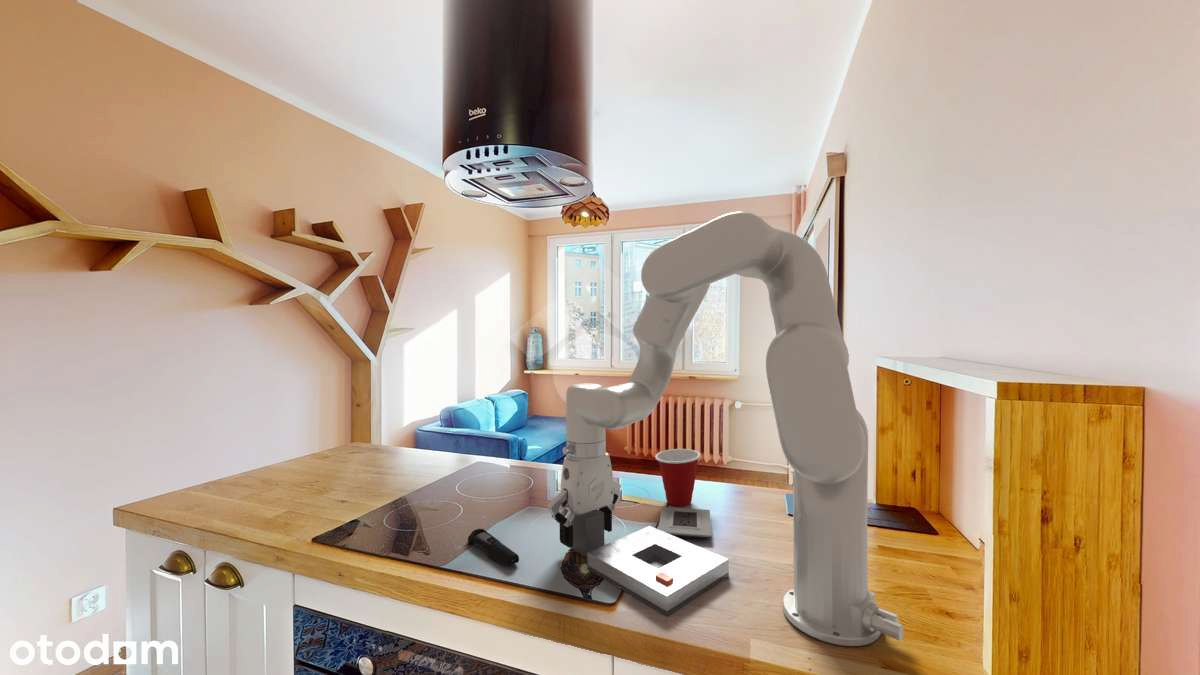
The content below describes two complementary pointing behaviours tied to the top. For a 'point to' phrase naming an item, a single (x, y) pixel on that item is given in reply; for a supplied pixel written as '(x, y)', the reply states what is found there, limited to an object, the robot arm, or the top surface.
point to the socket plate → (658, 568)
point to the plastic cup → (678, 474)
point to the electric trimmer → (493, 547)
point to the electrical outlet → (686, 522)
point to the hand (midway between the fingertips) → (586, 536)
